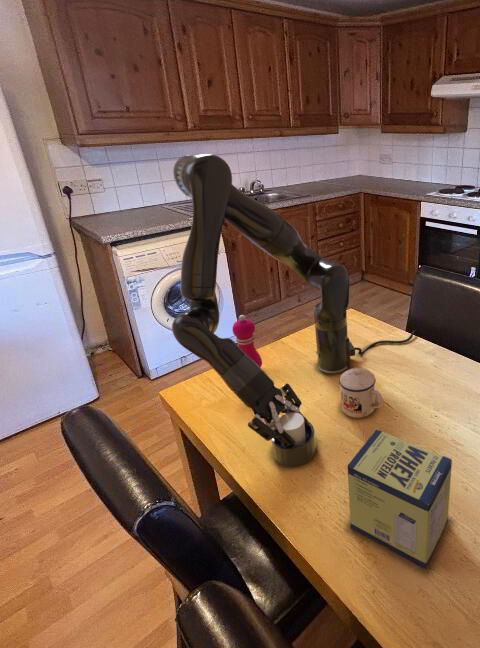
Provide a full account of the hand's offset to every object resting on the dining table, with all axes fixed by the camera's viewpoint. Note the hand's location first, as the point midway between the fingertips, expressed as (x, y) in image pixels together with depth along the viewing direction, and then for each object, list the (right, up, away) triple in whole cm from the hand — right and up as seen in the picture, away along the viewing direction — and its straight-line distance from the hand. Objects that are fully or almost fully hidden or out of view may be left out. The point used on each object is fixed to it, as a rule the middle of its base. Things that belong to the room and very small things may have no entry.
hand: (299, 436), depth 92 cm
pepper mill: (-19, +7, +29) cm, 36 cm away
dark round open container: (-1, -4, +3) cm, 5 cm away
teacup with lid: (+14, +1, +15) cm, 21 cm away
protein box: (+21, -11, -15) cm, 28 cm away
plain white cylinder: (-2, -4, +2) cm, 5 cm away
